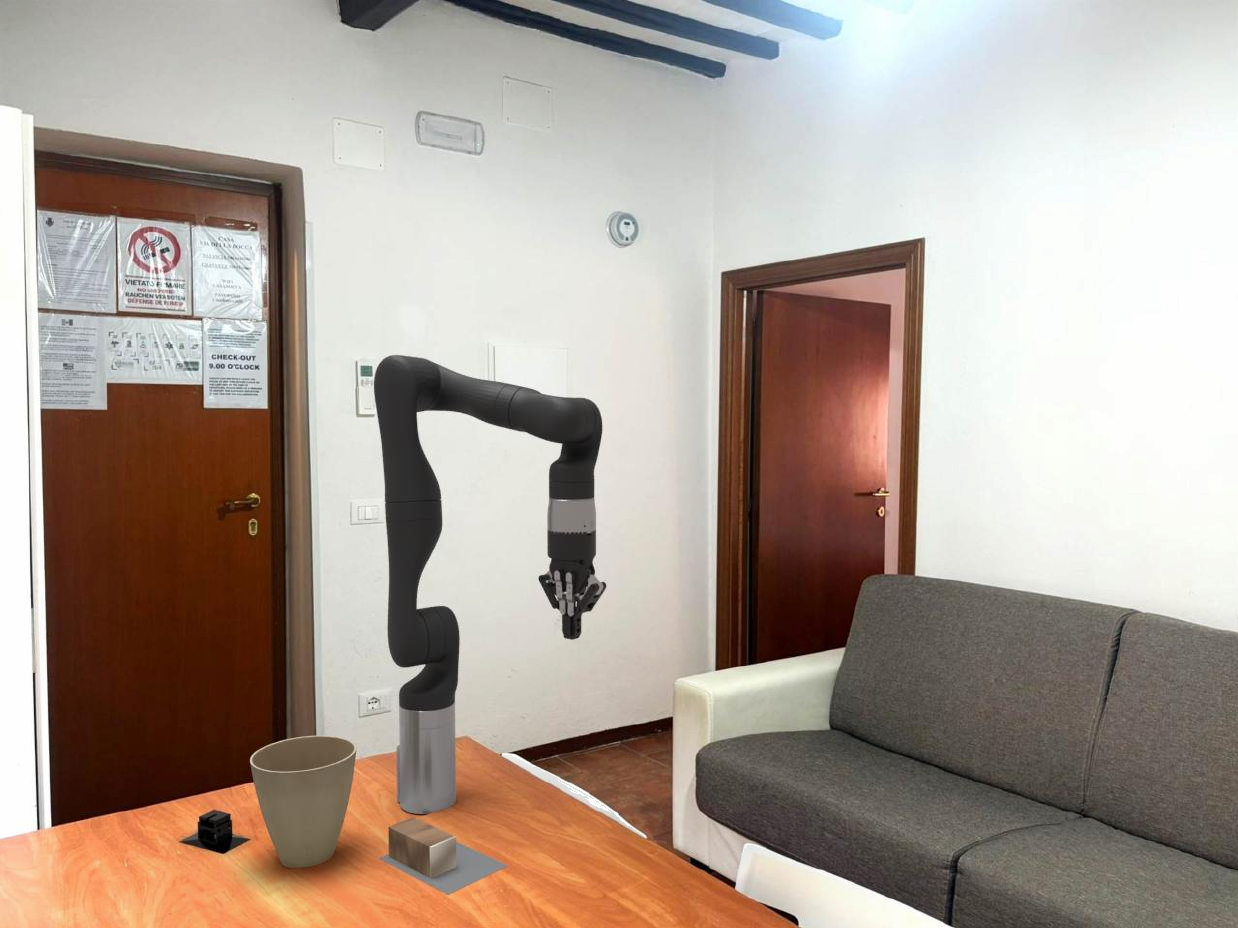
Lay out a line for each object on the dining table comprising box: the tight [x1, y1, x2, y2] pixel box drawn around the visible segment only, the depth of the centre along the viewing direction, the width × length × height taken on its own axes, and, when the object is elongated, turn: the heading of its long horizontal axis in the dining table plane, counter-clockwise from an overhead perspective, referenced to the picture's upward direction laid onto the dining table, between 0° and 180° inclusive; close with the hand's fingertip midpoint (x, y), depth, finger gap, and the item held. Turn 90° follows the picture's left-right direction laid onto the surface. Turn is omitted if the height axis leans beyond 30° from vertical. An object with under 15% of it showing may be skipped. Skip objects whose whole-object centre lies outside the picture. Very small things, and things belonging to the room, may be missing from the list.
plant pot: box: [249, 735, 357, 869], centre depth 141 cm, size 15×15×16 cm
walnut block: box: [388, 817, 457, 879], centre depth 139 cm, size 4×4×10 cm
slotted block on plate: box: [178, 809, 252, 855], centre depth 147 cm, size 12×7×5 cm, turn 65°
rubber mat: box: [378, 841, 509, 896], centre depth 139 cm, size 16×11×1 cm
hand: (571, 638), depth 148 cm, fingers closed
